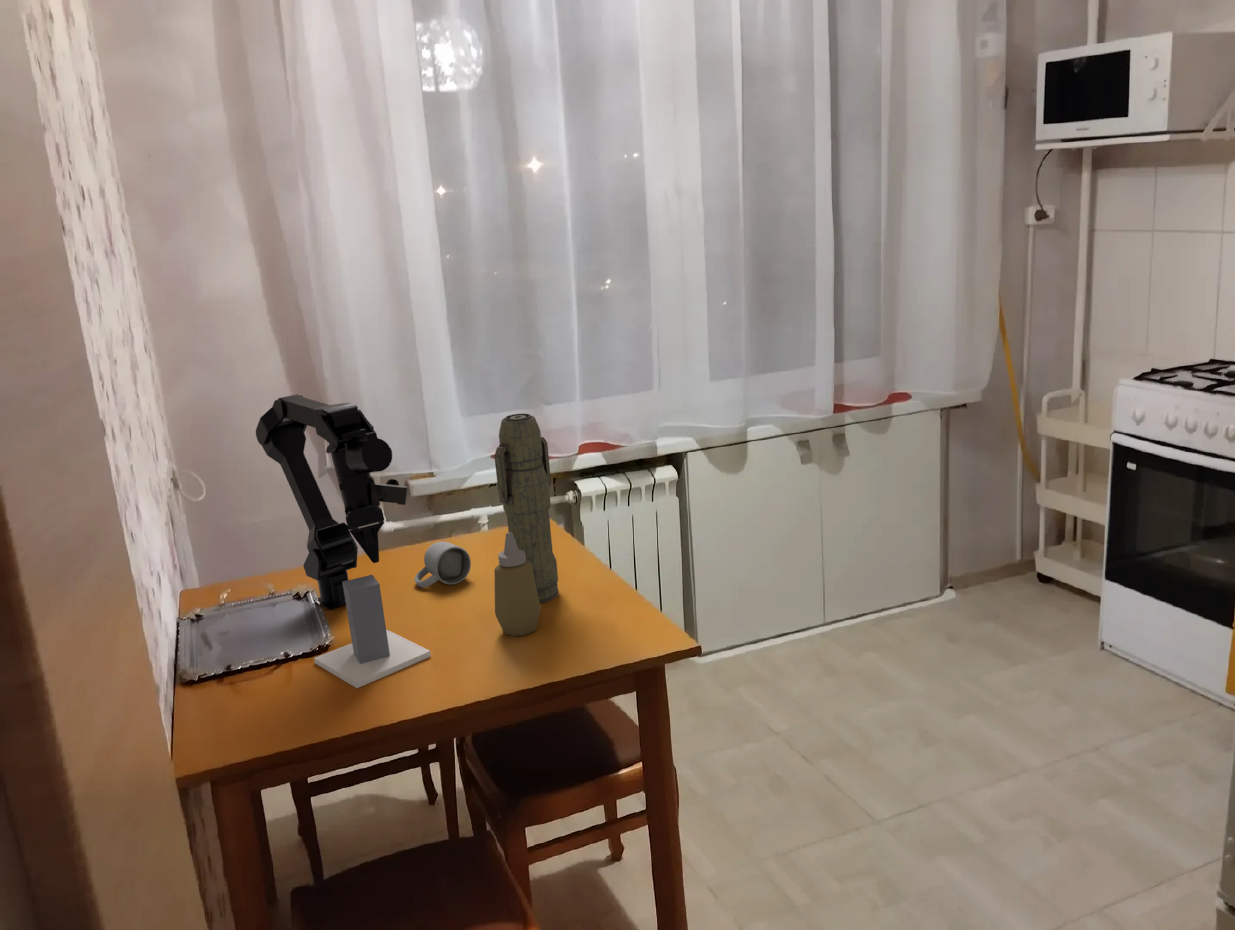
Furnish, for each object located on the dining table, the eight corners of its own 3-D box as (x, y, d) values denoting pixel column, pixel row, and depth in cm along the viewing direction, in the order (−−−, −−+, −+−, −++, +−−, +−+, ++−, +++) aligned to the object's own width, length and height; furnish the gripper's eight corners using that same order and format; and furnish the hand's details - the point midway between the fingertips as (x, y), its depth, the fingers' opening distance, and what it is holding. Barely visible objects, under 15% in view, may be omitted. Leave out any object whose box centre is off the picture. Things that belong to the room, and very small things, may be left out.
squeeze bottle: (487, 632, 173) (476, 536, 168) (521, 616, 179) (511, 522, 174) (517, 644, 168) (506, 544, 163) (552, 627, 173) (542, 530, 168)
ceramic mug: (456, 568, 205) (451, 533, 203) (473, 578, 198) (469, 543, 196) (409, 582, 199) (403, 547, 197) (425, 594, 193) (419, 557, 191)
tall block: (353, 652, 167) (342, 581, 163) (382, 645, 169) (372, 574, 165) (360, 664, 162) (348, 591, 159) (390, 656, 164) (379, 583, 161)
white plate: (314, 663, 166) (314, 657, 166) (387, 634, 175) (386, 629, 175) (356, 688, 156) (355, 682, 156) (430, 656, 165) (430, 650, 165)
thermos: (573, 587, 190) (557, 410, 181) (534, 610, 181) (515, 425, 172) (538, 580, 195) (520, 407, 186) (498, 601, 186) (478, 421, 177)
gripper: (401, 466, 168) (424, 554, 169) (395, 461, 186) (415, 540, 187) (336, 482, 165) (359, 571, 167) (335, 475, 183) (356, 556, 184)
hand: (375, 558), depth 176 cm, fingers open, 9 cm apart
